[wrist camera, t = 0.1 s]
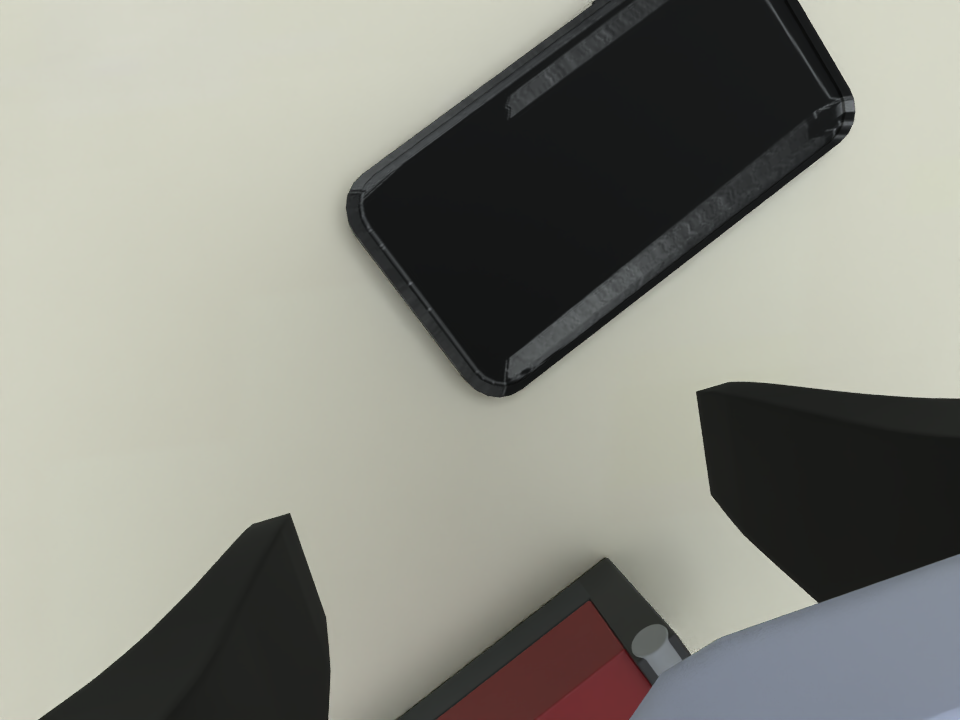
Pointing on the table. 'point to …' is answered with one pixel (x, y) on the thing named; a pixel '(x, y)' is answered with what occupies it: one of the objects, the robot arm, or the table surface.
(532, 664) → the red two-tone bar
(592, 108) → the phone
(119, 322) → the table surface
